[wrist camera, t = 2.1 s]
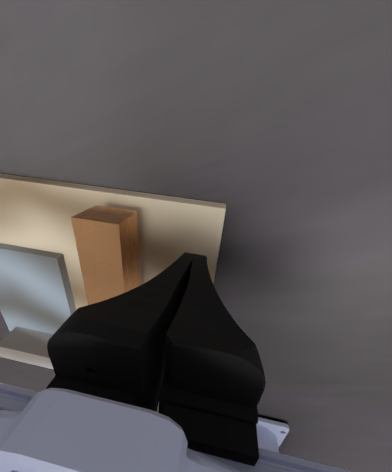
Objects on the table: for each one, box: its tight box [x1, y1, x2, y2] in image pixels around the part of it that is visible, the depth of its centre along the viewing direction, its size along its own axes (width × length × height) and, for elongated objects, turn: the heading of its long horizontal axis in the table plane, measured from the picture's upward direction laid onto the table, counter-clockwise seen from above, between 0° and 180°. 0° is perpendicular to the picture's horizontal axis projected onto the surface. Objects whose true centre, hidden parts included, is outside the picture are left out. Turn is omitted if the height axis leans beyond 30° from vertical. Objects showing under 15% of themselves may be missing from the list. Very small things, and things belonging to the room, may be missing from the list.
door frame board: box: [0, 174, 226, 369], centre depth 16 cm, size 19×18×4 cm
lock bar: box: [71, 205, 140, 305], centre depth 13 cm, size 13×3×2 cm, turn 175°
